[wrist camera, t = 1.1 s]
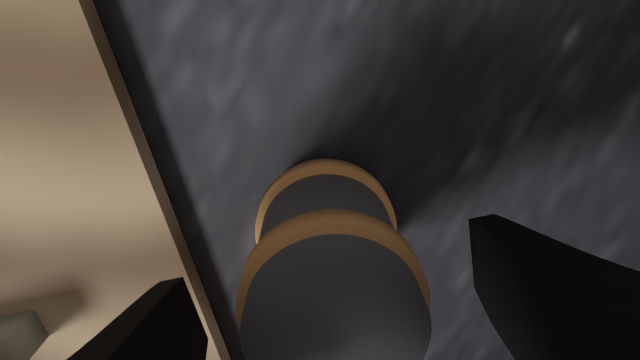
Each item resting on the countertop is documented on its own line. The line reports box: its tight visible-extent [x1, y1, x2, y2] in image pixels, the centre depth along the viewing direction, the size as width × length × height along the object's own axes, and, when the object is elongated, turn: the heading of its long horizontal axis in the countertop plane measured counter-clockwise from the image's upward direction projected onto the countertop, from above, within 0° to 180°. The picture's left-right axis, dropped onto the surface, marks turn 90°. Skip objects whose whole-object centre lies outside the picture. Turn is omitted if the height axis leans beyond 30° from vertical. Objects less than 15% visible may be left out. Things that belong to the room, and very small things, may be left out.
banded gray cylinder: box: [236, 157, 432, 360], centre depth 11 cm, size 4×4×6 cm
